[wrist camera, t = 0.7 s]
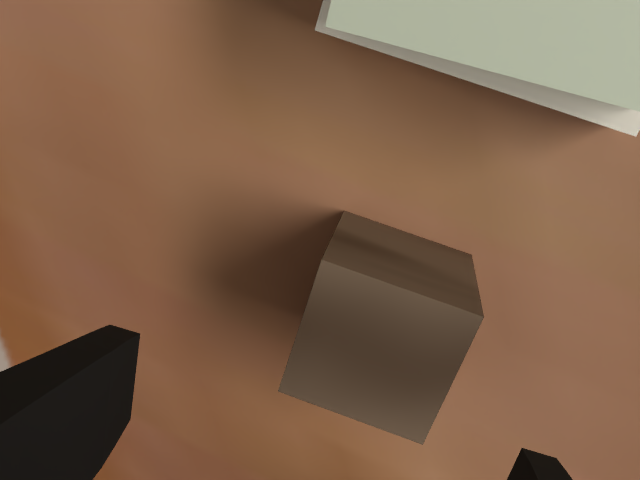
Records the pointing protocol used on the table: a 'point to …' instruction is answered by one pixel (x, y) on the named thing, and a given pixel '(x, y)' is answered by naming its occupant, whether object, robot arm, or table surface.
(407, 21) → the tower top slab
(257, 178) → the table surface
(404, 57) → the tower base slab
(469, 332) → the walnut block
